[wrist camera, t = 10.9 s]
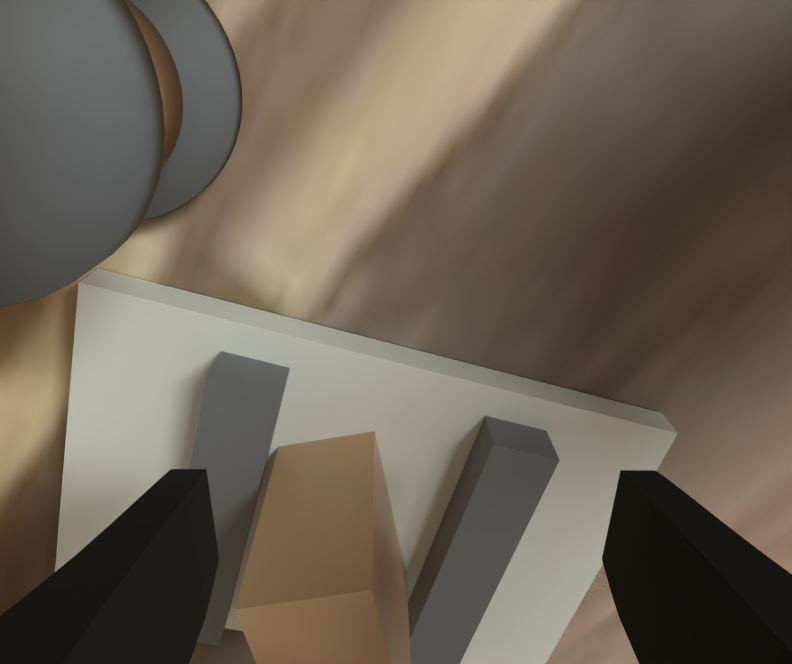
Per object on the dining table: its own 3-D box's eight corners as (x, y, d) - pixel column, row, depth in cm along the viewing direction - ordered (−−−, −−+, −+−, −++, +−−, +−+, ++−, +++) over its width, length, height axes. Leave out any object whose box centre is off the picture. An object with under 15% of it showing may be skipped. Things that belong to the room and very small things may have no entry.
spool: (264, -10, 14) (169, -70, 8) (219, 240, 17) (120, 347, 10) (-16, -102, 13) (-377, -254, 7) (-19, 175, 16) (-287, 249, 10)
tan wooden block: (374, 431, 18) (371, 589, 13) (406, 574, 21) (415, 759, 15) (278, 446, 18) (234, 609, 13) (321, 587, 21) (300, 774, 15)
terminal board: (661, 413, 19) (702, 463, 17) (526, 656, 24) (543, 723, 22) (97, 268, 17) (50, 303, 15) (69, 569, 22) (29, 634, 19)
